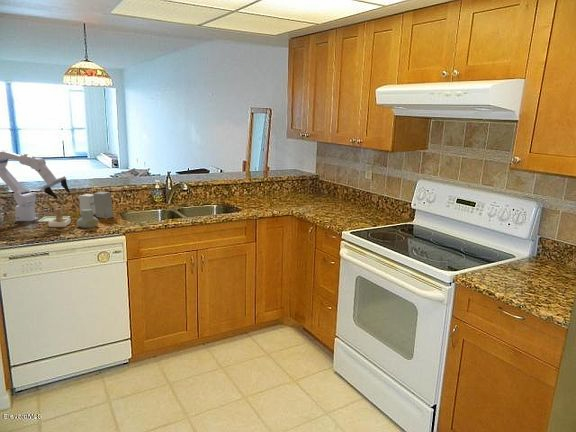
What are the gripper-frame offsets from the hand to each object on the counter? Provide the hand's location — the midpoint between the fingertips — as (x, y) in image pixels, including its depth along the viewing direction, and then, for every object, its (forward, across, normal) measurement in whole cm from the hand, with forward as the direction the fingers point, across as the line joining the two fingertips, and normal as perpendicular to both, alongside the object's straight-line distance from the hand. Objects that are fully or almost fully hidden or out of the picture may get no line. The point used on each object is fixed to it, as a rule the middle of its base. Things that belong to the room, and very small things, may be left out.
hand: (62, 195), depth 242 cm
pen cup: (+13, -10, +4) cm, 17 cm away
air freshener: (+24, -2, -5) cm, 25 cm away
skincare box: (+21, +15, +10) cm, 28 cm away
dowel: (+13, -10, +4) cm, 17 cm away
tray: (+7, -7, +16) cm, 19 cm away
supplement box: (+13, +12, +21) cm, 27 cm away
